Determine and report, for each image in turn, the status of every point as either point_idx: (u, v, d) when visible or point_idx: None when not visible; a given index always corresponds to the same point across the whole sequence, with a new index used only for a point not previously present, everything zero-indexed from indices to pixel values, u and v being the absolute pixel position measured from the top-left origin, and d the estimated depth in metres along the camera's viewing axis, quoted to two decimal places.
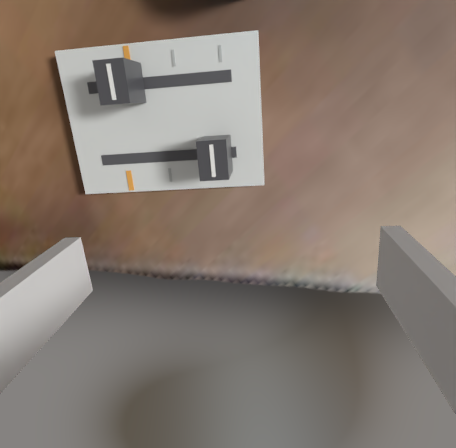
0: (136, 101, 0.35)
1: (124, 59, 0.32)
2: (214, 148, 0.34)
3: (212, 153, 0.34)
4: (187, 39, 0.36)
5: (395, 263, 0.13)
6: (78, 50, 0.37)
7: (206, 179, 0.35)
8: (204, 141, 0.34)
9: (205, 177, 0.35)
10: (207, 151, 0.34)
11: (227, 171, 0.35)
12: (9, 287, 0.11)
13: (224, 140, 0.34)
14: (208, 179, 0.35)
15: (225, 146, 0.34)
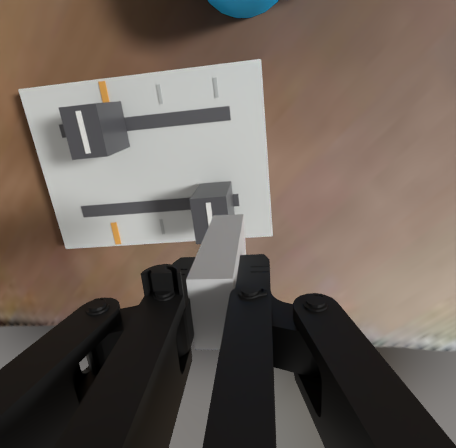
0: (116, 150, 0.29)
1: (97, 105, 0.26)
2: (212, 206, 0.28)
3: (210, 212, 0.28)
4: (175, 71, 0.30)
5: None
6: (46, 88, 0.31)
7: None
8: (199, 198, 0.28)
9: (202, 239, 0.29)
10: (203, 210, 0.28)
11: None
12: (212, 252, 0.13)
13: (224, 197, 0.28)
14: None
15: (225, 204, 0.28)
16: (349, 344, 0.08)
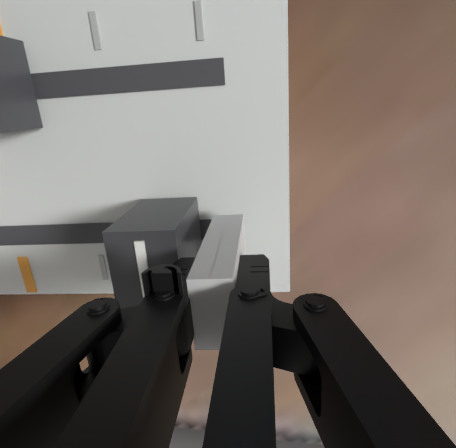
0: None
1: None
2: (148, 249, 0.14)
3: (144, 260, 0.14)
4: None
5: None
6: None
7: None
8: (123, 232, 0.14)
9: None
10: (130, 255, 0.14)
11: None
12: (212, 252, 0.13)
13: (171, 232, 0.14)
14: None
15: (174, 246, 0.14)
16: (349, 344, 0.08)
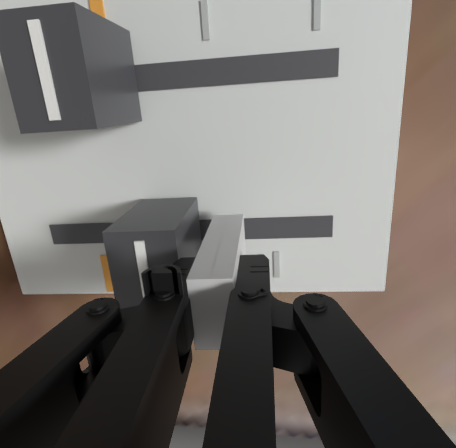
0: (116, 122, 0.14)
1: (79, 9, 0.12)
2: (148, 249, 0.14)
3: (144, 261, 0.14)
4: None
5: None
6: None
7: None
8: (123, 232, 0.14)
9: None
10: (130, 255, 0.14)
11: None
12: (212, 252, 0.13)
13: (171, 232, 0.14)
14: None
15: (174, 246, 0.14)
16: (349, 344, 0.08)
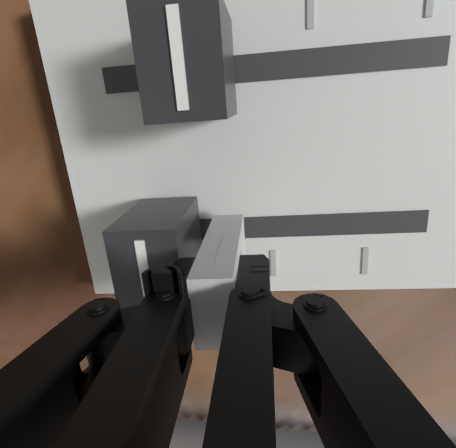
0: (231, 113, 0.14)
1: None
2: (148, 248, 0.14)
3: (144, 260, 0.14)
4: None
5: None
6: None
7: None
8: (123, 232, 0.14)
9: None
10: (131, 254, 0.14)
11: None
12: (212, 252, 0.13)
13: (171, 231, 0.14)
14: None
15: (174, 245, 0.14)
16: (349, 344, 0.08)
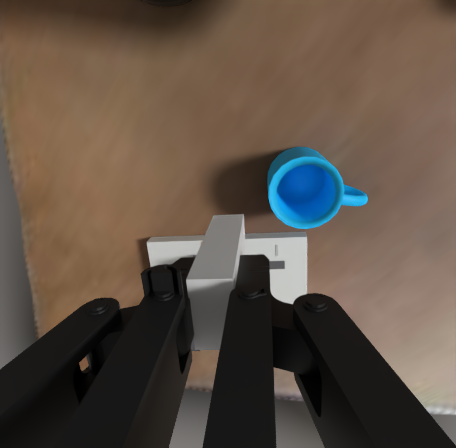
0: None
1: None
2: None
3: None
4: (251, 240, 0.47)
5: None
6: (165, 242, 0.48)
7: None
8: None
9: None
10: None
11: None
12: (212, 252, 0.13)
13: None
14: None
15: None
16: (349, 344, 0.08)
